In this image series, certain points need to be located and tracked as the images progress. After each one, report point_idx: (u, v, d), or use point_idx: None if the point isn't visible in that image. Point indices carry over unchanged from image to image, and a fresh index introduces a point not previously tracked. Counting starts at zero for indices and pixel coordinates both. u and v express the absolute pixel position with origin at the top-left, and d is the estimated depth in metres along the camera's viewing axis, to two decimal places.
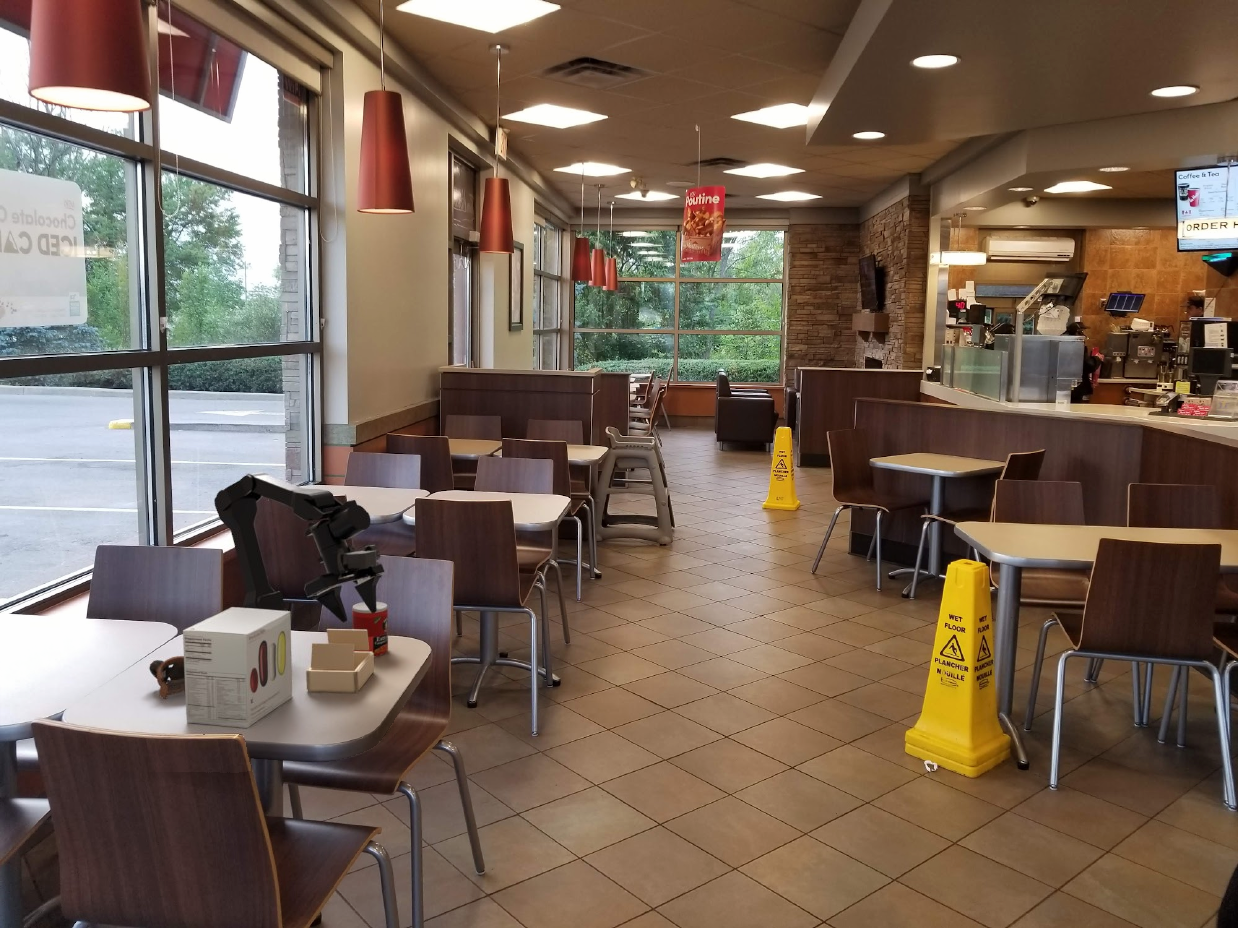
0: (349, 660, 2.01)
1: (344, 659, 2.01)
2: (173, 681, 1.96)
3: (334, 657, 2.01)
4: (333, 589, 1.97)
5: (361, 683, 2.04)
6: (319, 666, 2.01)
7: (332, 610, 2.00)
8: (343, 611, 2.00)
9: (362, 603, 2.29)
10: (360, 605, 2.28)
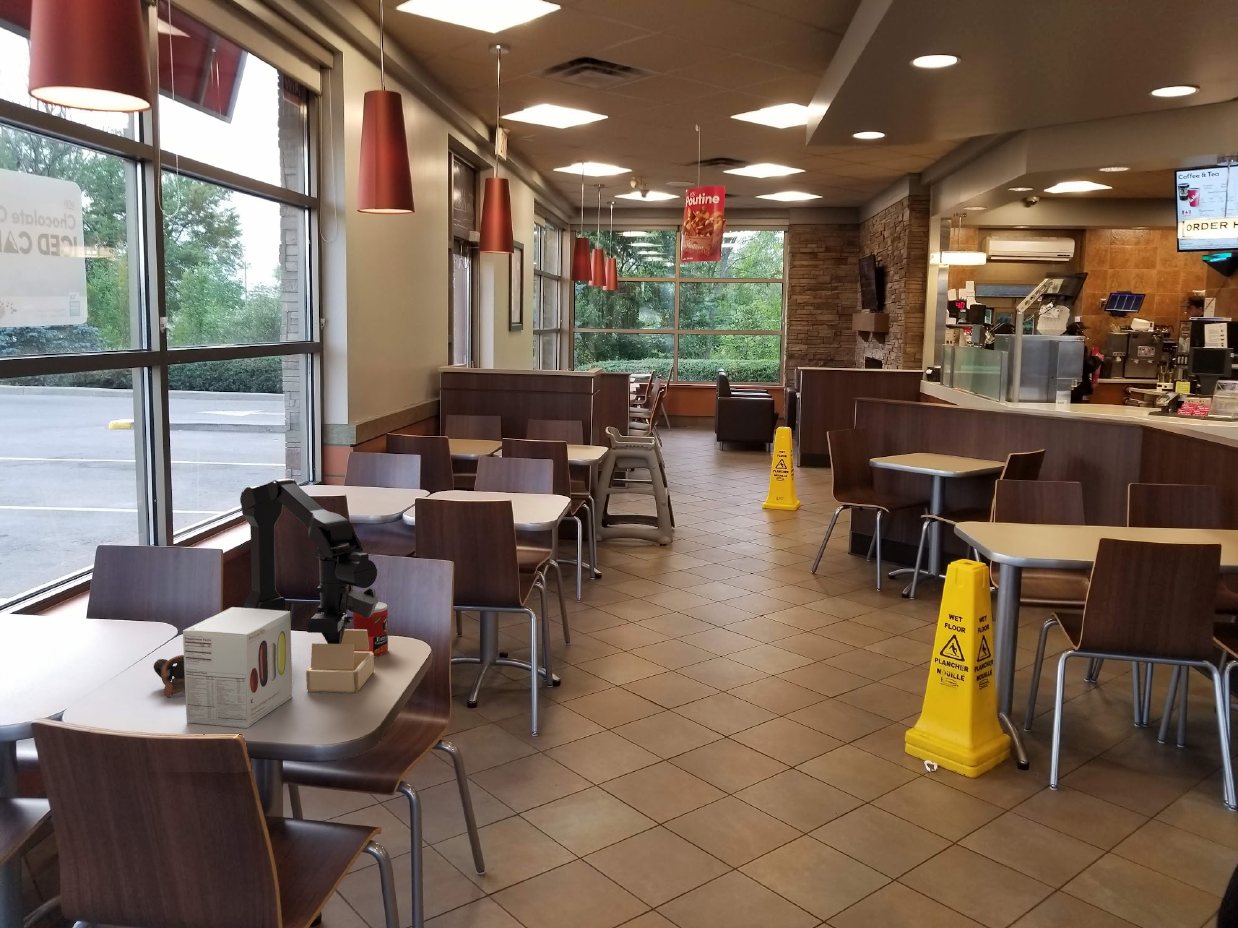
0: (349, 660, 2.01)
1: (344, 659, 2.01)
2: (178, 680, 1.97)
3: (334, 657, 2.01)
4: (344, 627, 2.00)
5: (361, 683, 2.04)
6: (319, 666, 2.01)
7: (328, 641, 2.02)
8: None
9: None
10: None
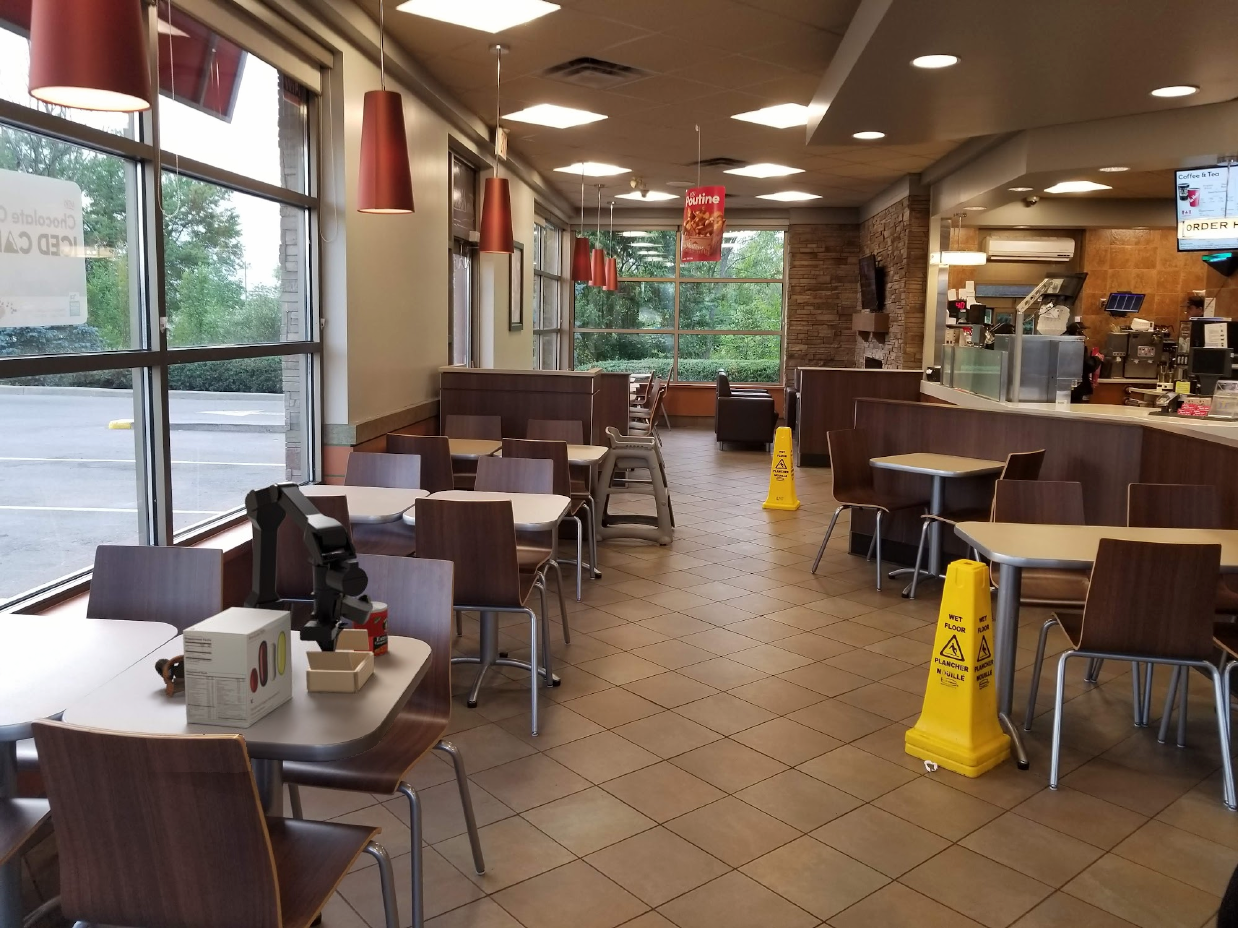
0: (347, 664, 2.00)
1: (342, 663, 2.00)
2: (179, 679, 1.97)
3: (331, 662, 2.00)
4: (338, 634, 1.96)
5: (361, 683, 2.04)
6: (318, 667, 2.01)
7: (322, 648, 1.98)
8: None
9: None
10: None
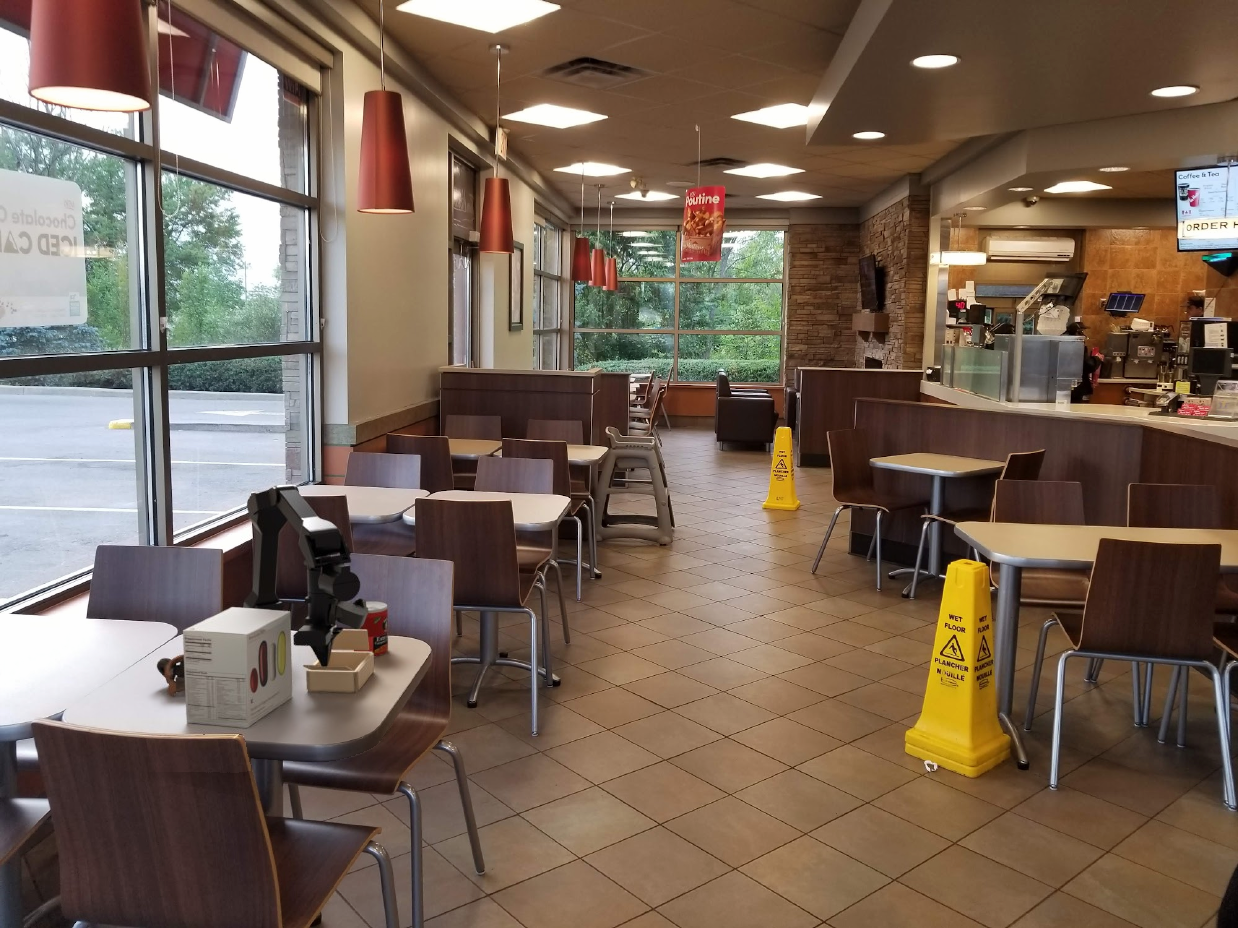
0: (346, 669, 2.00)
1: (341, 669, 1.99)
2: (182, 678, 1.97)
3: (330, 668, 1.99)
4: (333, 639, 1.93)
5: (361, 683, 2.04)
6: (318, 669, 2.01)
7: (317, 653, 1.95)
8: (328, 657, 1.96)
9: None
10: None
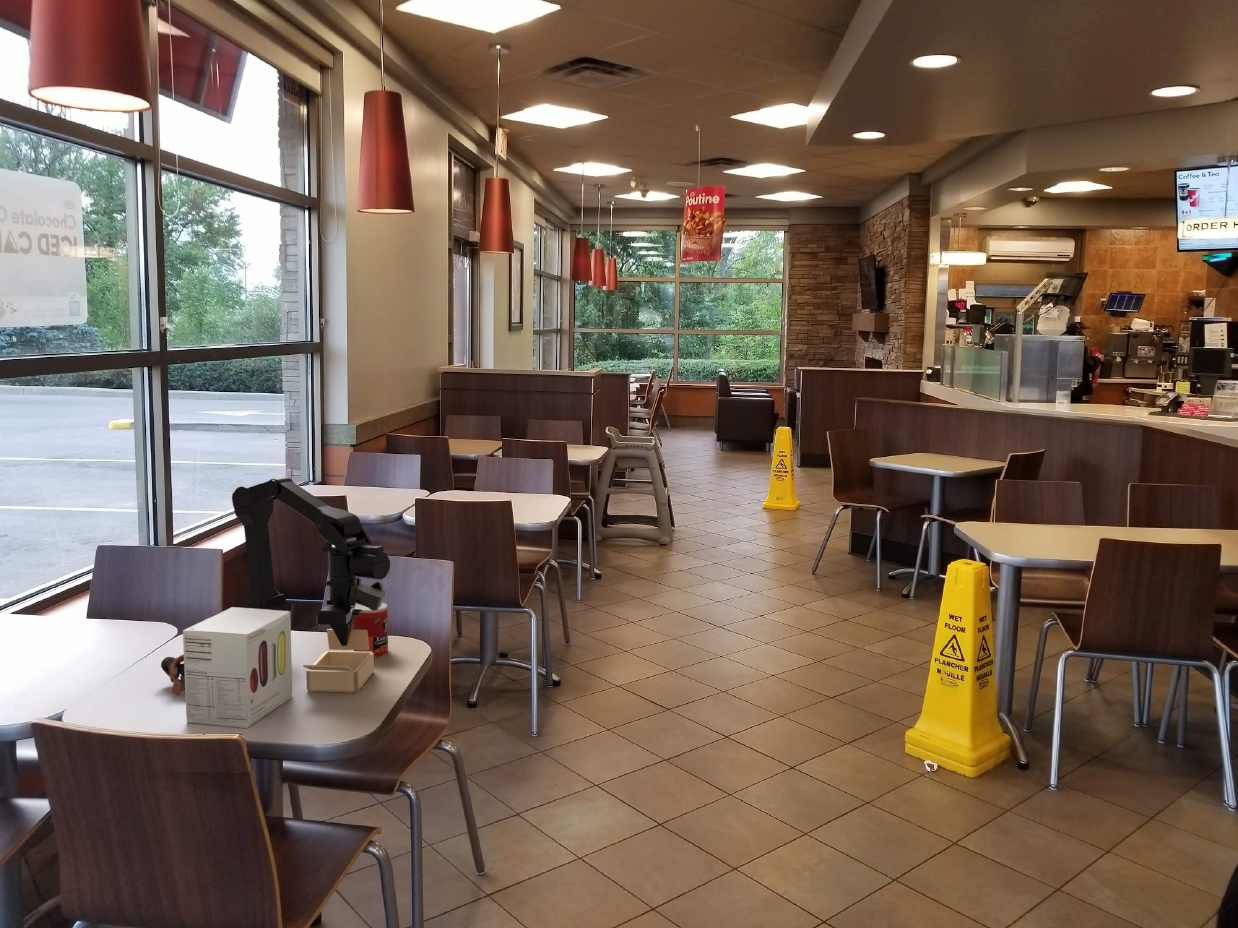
0: (346, 669, 1.99)
1: (341, 669, 1.99)
2: None
3: (330, 668, 1.99)
4: (352, 619, 2.06)
5: (361, 683, 2.04)
6: (318, 669, 2.01)
7: (337, 633, 2.09)
8: (347, 637, 2.09)
9: None
10: (360, 605, 2.28)
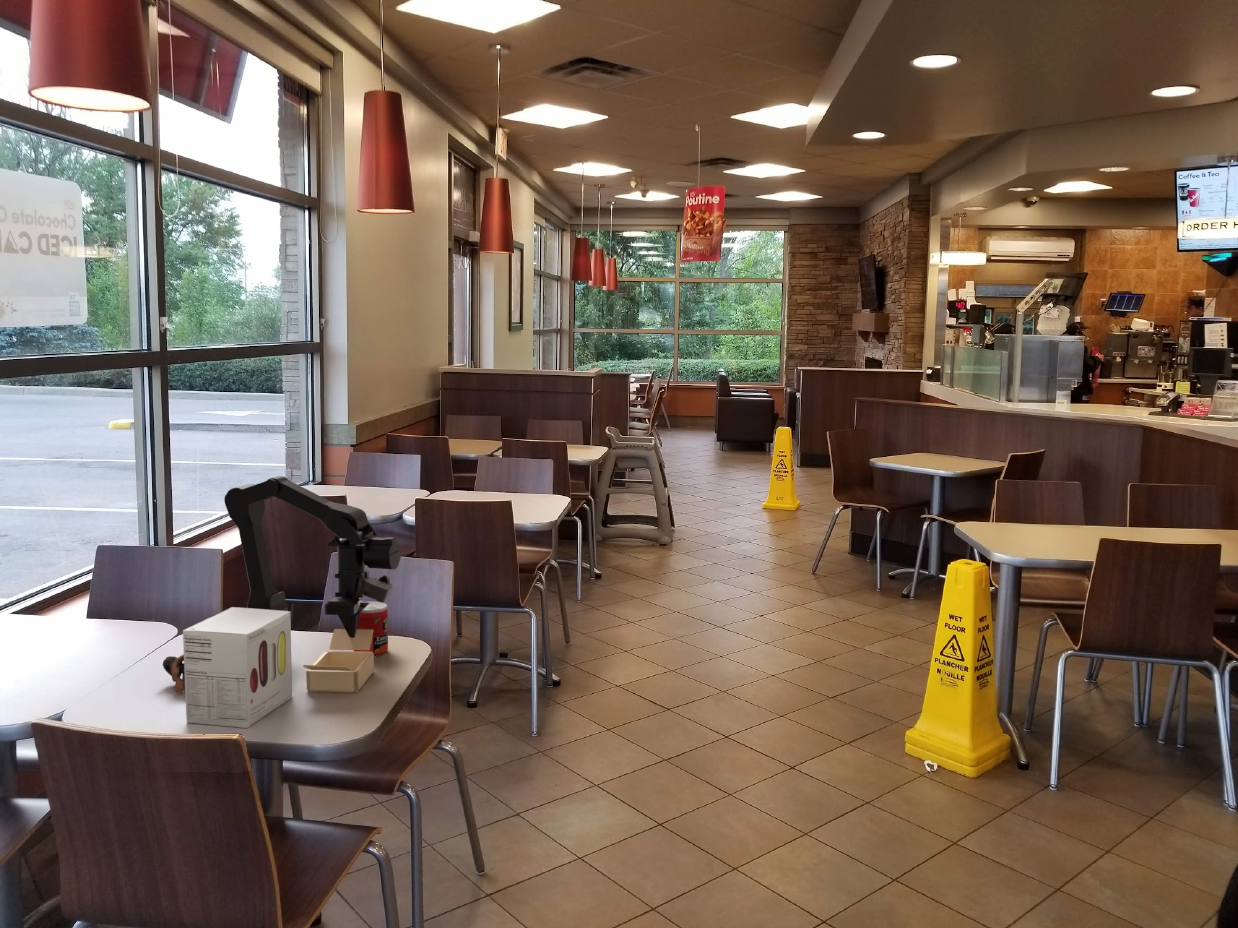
0: (346, 669, 1.99)
1: (341, 669, 1.99)
2: None
3: (330, 668, 1.99)
4: (360, 611, 2.12)
5: (361, 683, 2.04)
6: (318, 669, 2.01)
7: (345, 624, 2.14)
8: (355, 628, 2.15)
9: None
10: None
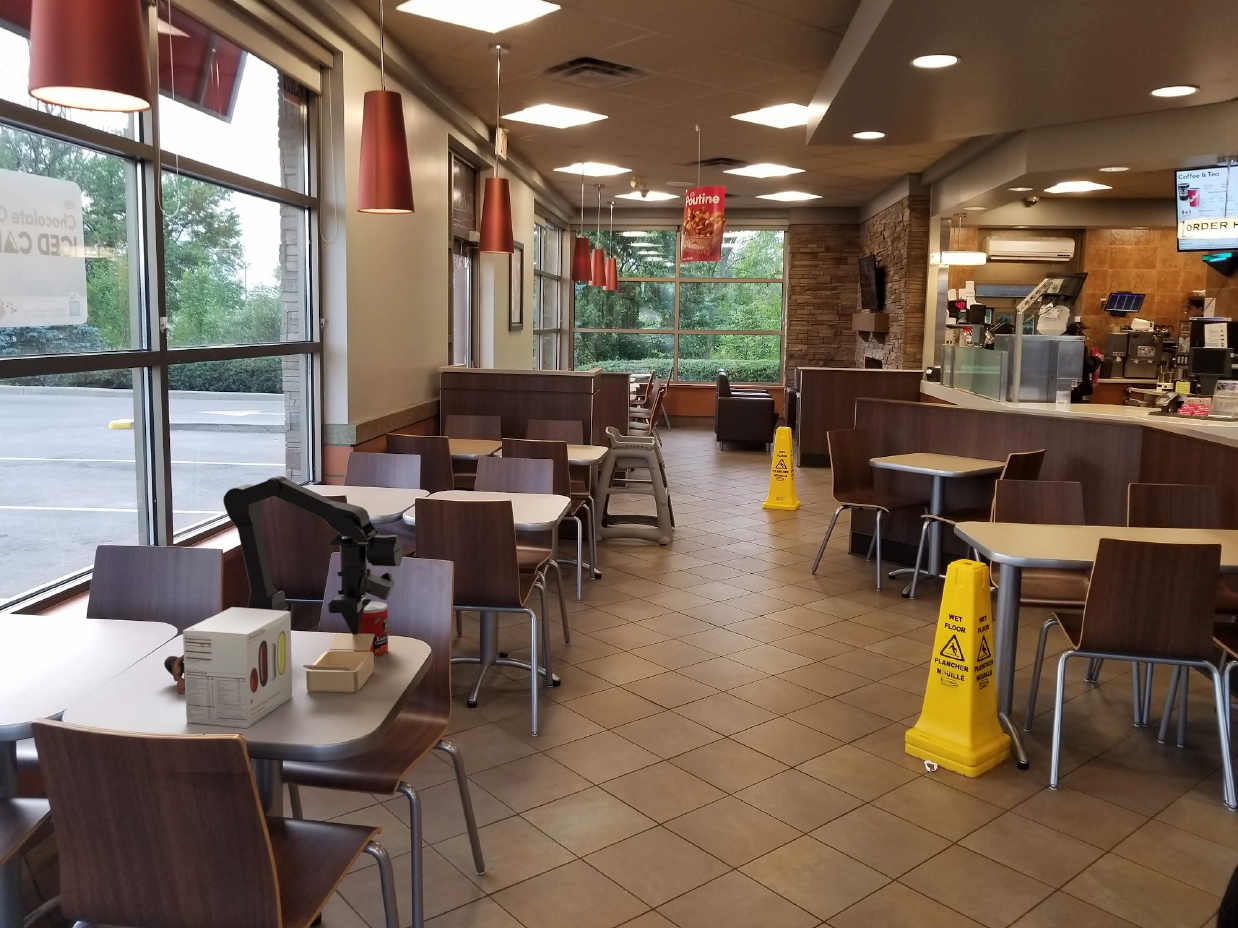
0: (346, 669, 1.99)
1: (341, 669, 1.99)
2: None
3: (330, 668, 1.99)
4: (363, 608, 2.14)
5: (361, 683, 2.04)
6: (318, 669, 2.01)
7: (348, 621, 2.16)
8: (358, 626, 2.17)
9: None
10: None
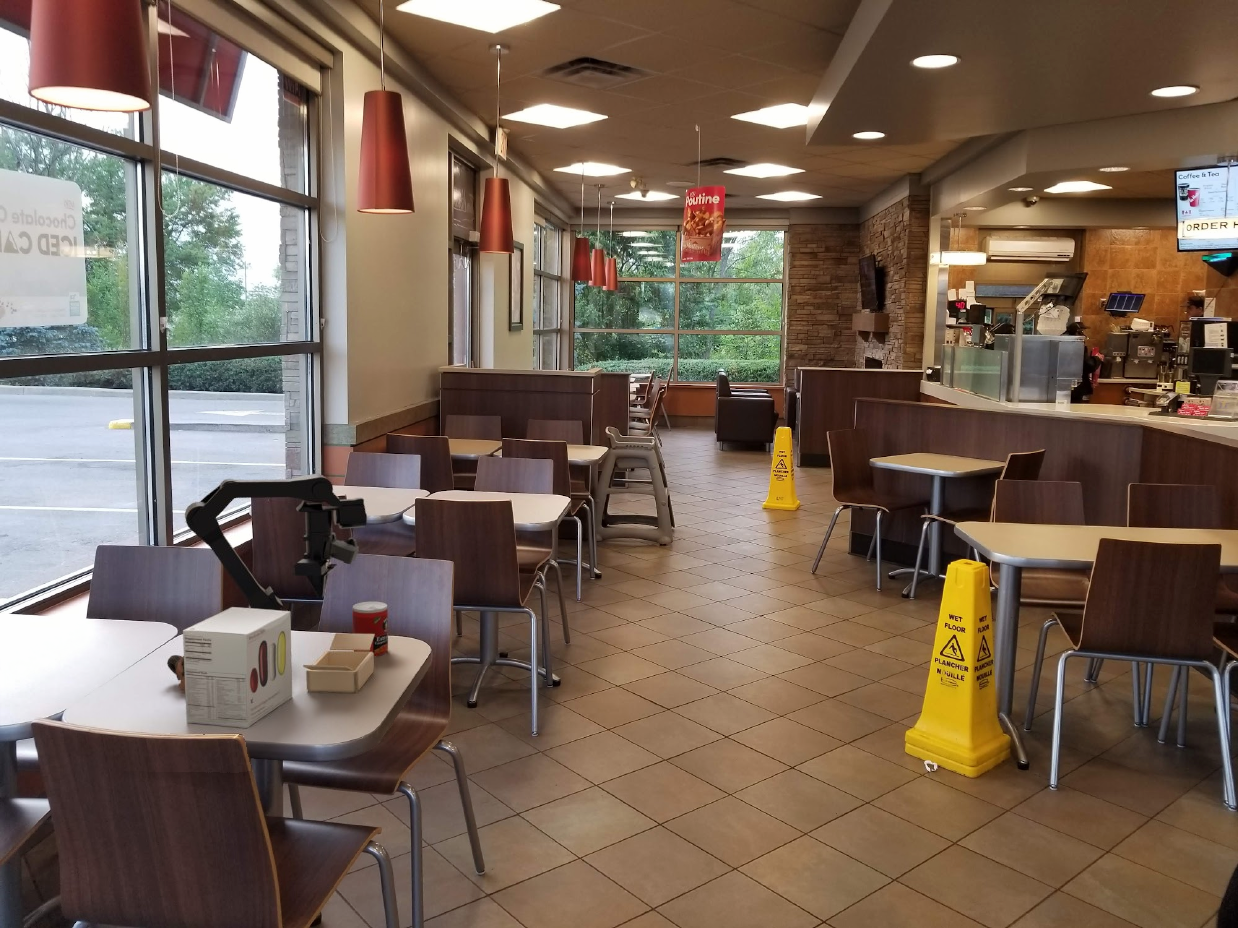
0: (346, 669, 1.99)
1: (341, 669, 1.99)
2: None
3: (330, 668, 1.99)
4: (327, 572, 2.22)
5: (361, 683, 2.04)
6: (318, 669, 2.01)
7: (313, 585, 2.24)
8: (323, 589, 2.25)
9: (362, 603, 2.29)
10: (360, 605, 2.28)
